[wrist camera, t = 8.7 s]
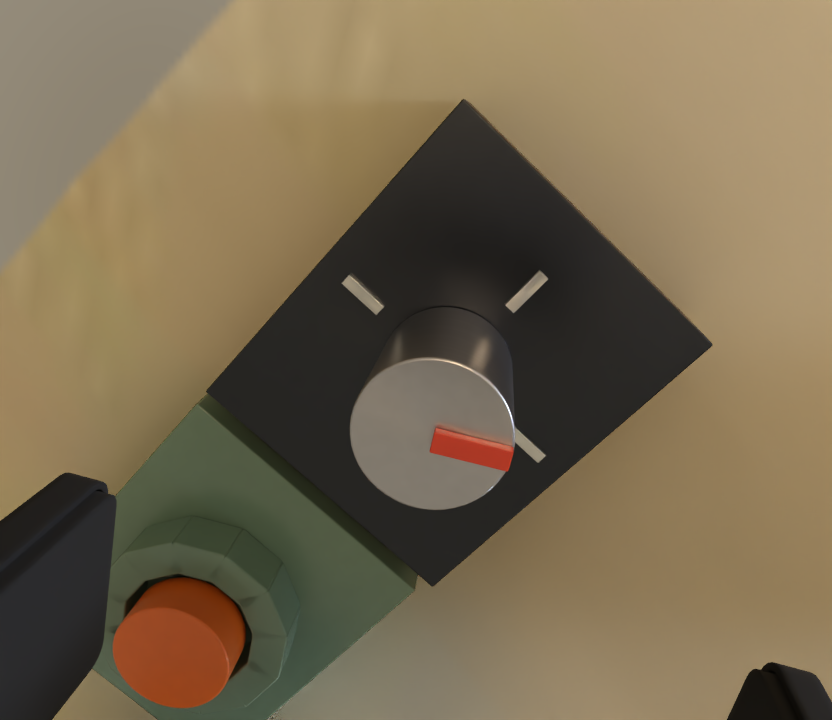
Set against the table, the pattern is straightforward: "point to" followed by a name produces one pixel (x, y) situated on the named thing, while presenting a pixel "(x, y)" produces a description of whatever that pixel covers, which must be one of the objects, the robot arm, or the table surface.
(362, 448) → the dial
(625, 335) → the control panel
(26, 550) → the robot arm
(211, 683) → the button
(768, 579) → the table surface
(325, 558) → the button housing
